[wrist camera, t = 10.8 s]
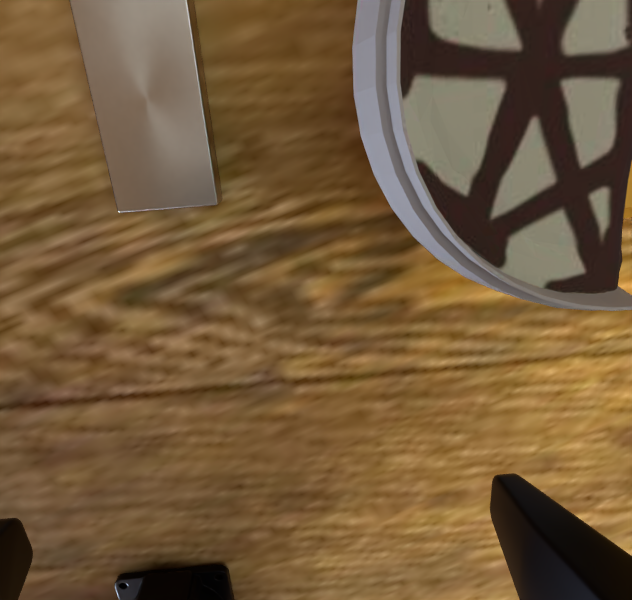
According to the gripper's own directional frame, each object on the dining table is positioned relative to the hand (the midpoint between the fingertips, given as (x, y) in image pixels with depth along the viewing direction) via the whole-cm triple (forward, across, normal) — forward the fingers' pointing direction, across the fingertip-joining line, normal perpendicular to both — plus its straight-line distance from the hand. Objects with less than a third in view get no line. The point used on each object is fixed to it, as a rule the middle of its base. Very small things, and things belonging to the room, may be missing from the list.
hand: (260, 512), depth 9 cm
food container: (+13, -6, -8) cm, 16 cm away
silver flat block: (+13, +4, -8) cm, 16 cm away
